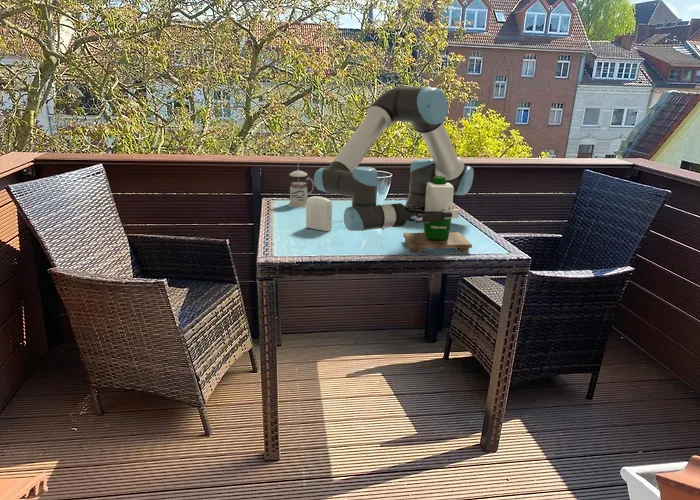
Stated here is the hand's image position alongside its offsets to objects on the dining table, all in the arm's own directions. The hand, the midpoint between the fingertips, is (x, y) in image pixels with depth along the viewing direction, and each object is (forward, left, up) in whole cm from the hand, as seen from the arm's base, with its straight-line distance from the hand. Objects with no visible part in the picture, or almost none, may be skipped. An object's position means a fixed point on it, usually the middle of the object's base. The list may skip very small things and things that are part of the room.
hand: (450, 210), depth 166 cm
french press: (+29, -74, -13) cm, 80 cm away
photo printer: (+35, -34, -13) cm, 50 cm away
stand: (+5, 0, -12) cm, 13 cm away
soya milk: (+5, -1, -9) cm, 10 cm away
